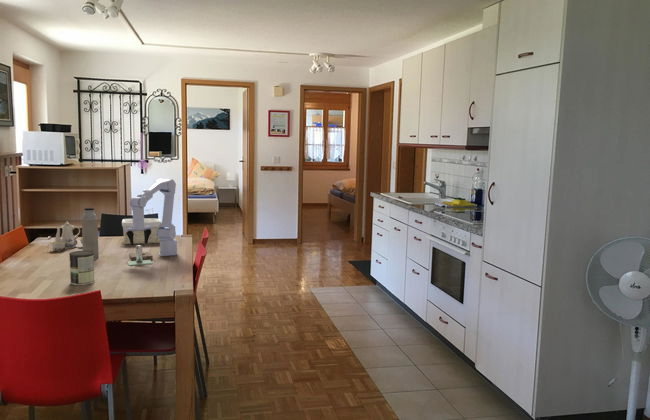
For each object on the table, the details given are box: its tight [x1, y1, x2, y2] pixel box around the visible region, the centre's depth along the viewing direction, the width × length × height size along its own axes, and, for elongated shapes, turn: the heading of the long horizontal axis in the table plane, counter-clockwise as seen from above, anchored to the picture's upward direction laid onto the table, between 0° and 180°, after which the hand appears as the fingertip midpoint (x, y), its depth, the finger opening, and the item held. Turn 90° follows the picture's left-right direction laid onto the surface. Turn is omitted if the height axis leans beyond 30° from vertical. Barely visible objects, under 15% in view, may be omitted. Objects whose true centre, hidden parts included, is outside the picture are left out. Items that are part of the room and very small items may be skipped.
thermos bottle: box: [81, 207, 100, 260], centre depth 295 cm, size 8×8×28 cm
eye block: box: [128, 251, 154, 261], centre depth 297 cm, size 11×11×2 cm
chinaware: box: [47, 220, 83, 252], centre depth 321 cm, size 28×17×17 cm, turn 147°
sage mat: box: [126, 260, 153, 267], centre depth 287 cm, size 12×9×1 cm
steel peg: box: [135, 244, 143, 263], centre depth 286 cm, size 3×3×9 cm
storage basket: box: [121, 217, 162, 245], centre depth 345 cm, size 24×16×15 cm
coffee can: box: [68, 250, 95, 286], centre depth 245 cm, size 10×10×14 cm
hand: (139, 244), depth 286 cm, fingers open, 7 cm apart
